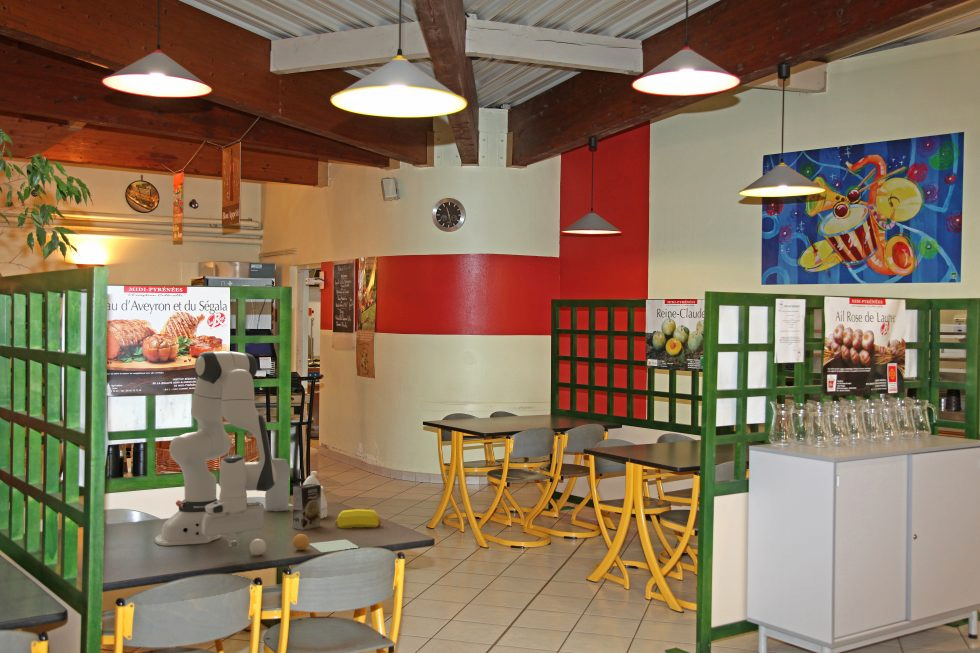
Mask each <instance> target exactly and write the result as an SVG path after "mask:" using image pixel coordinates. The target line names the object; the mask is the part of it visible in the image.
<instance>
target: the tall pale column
mask: <svg viewBox="0 0 980 653" xmlns="http://www.w3.org/2000/svg"><path fill="white" fill-rule="evenodd" d="M272 461H273V465H274V468H275V471H276V482H275V485H274V486H273V487H272V488H270V489H269V490H268V491H265V493H264V495H265V497H264V512H285V511H289V510H290V493H289V477H290V475H291V467H290V466H289V463H288V459H287V458H279V457H278V458H277V457H276V458H275V457H274V458H272Z"/></svg>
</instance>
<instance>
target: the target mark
mask: <svg viewBox="0 0 980 653" xmlns="http://www.w3.org/2000/svg"><path fill="white" fill-rule="evenodd" d="M308 546H310V547H312V548H313V549H315V550H317V551H318V552H319V553H322V554H323V553H332V552H338V551H339V552H340V550H341V551H346V550H345V549H349V550H351V549H350V548H357V549H359V548H358V547H359V546H358V545H356V544H355V543H353V542H351V541H350V540H348V539H337V540H329V541H321V542H320V541H319V542H311V543H310V542H309V545H308Z"/></svg>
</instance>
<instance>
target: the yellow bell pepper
mask: <svg viewBox="0 0 980 653" xmlns="http://www.w3.org/2000/svg"><path fill="white" fill-rule="evenodd" d="M334 524H335V526H336V527H338V528H339V529H351V528H350V527H355V528H363V527H375V528H377V527H378V526H381V524H382V519H380V518H379V514H378V512H376V511H375V509H364V508H363V509H362V508H357V509H356V508H355V509H347V510H346V509H344V510H343V509H342V511H341V512H340V513H339V514H338V516H337V519H335V521H334Z"/></svg>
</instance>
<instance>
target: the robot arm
mask: <svg viewBox="0 0 980 653" xmlns="http://www.w3.org/2000/svg"><path fill="white" fill-rule="evenodd" d="M194 371H195V375H196V376H197V380H196V384H195V387H194V391H193V397H192V402H191V409H190V414H191V416H192V418H193V419H195V420H196V422H197V431H192V432H186V433H183V434H180V435H178V436H176V437H174V438H173V439H172V440H171V441H170V444H169V449H168V450H169V455H170V457H171V459H172V460H173V461H174V462H175V463H177V465H178V466H179V468H180V469H181V472H182V476H183V479H184V480H183V482H184V485H183V486H184V499H183V500H179V499H177V500H176V501H175V505H176V506H177V507H178V511H177V512H176V513H175V514H173V515H171V517H169V518H168V519H167V520H165V522H164V523H163V525H162V530H161V534H159V535H157V536H155V539H154V542H155V543H156V544H157V545H159V546H163V547H164V546H167V547H169V546H181V545H183V546H184V545H197V544H200V545H201V544H208V543H210V542H212V541H215V540H218V539H221V536H222V535H224V536H225V538H226V541H228V547H229V548H234V547H239V542H240V541H241V538H242V537H243V533H246V532H247V533H248V532H254V531H261V530H263V529H264V528H265V518H264V513H265V504H263V503H262V502H260V501H256V502H248V494H247V491H249V492H250V491H256V492H266V491H268V490H269V489H270V488H272V487H273V486H274V485H275V482H276V471H275V468H274V465H273V461H272V459H273V456H272V452H271V451H272V450H271V445H270V439H269V433H268V429H267V423H266V421H265V418H264V416H263V414H262V415H261V414H259V412H258V410H257V409H256V404H255V403H256V402H255V386H254V380H253V379H254V378H255V376H256V374H257V372H258V363H257V360H256V357H254V356H253V355H252V354H250V353H247V352H237V351H230V350H229V351H228V350H226V351H211V350H210V351H208V350H207V351H203V352H201V353H200V354H198V356H197V357H196V359H195V363H194ZM223 419H224V420H225V421H226V422H227V423H229V424H230V425H232V426H234V427H237V428H239V429H241V430H245V431H247V432H250V433H251V434H252V435H253V436H254V438H255V440H256V445H257V450H258V457H259V460H258V461H254V462H253V461H252V462H251V461H248V462H246V459H245V457H244V456H243V455H239V454H229V453H230V451H231V447H232V440H231V437H230V435H229V433H228V432H226V430H225V426H224V421H223ZM226 454H229V455H226ZM221 457H223V458H221ZM219 458H221V460H220V468H219V471H218V473H217V474H218V476H217V477H218V478H217V477H216V475H215V474H214V473H212V472H211V471H210V470H209V467H208V461H211V460H217V459H219ZM217 480H218V486H219V488H220V491H219V499H218V498H217ZM232 534H235V535H237V536H236V537H235V539H234V540H231V537H232Z"/></svg>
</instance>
